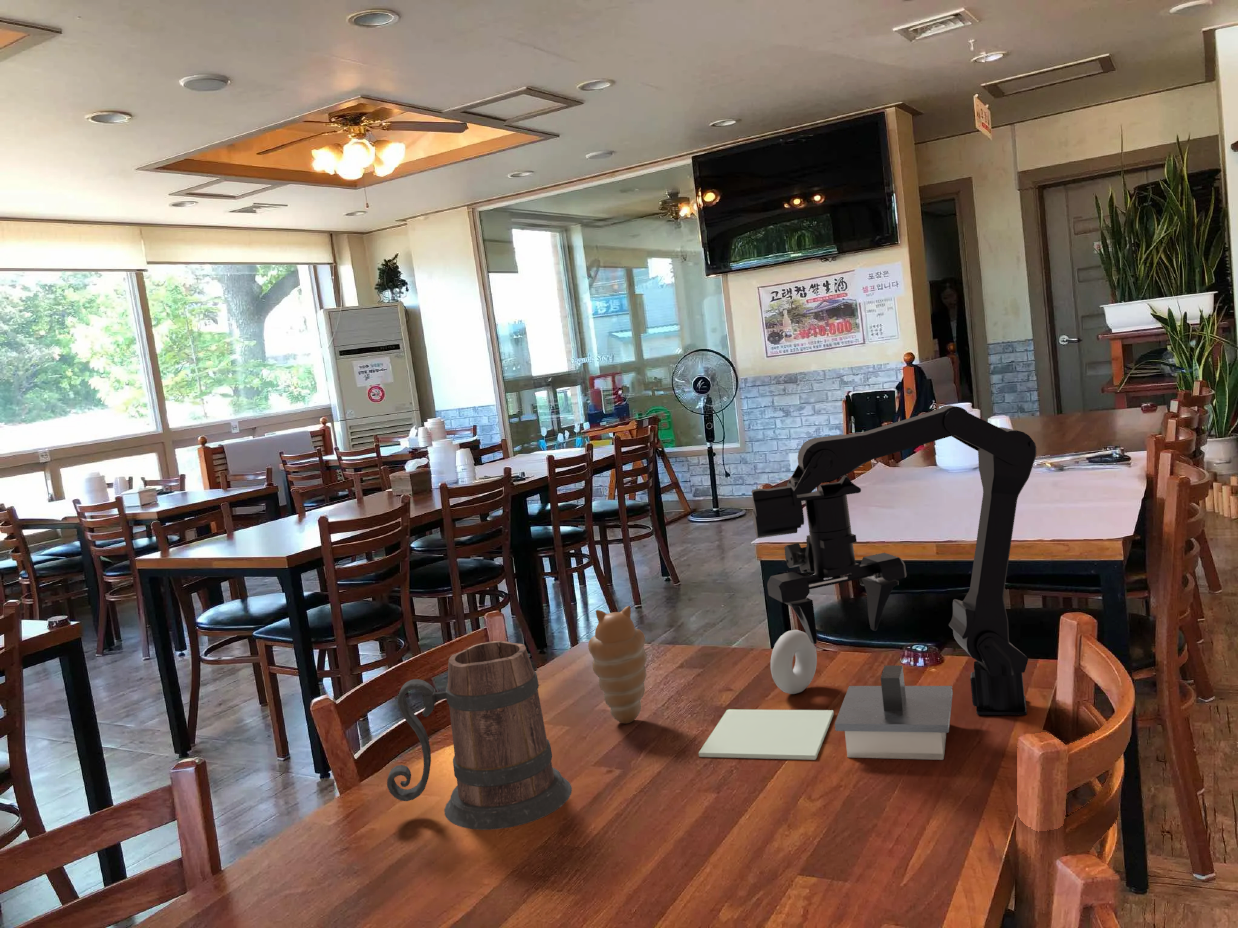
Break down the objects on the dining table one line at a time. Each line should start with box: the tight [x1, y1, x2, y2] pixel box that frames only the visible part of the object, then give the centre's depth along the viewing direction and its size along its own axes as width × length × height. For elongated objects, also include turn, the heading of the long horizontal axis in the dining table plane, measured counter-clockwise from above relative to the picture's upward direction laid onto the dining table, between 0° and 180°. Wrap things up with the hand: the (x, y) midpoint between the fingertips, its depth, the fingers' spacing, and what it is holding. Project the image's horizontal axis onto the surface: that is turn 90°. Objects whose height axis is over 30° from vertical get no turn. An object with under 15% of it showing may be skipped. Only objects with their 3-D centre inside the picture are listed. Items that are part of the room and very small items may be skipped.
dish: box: [844, 731, 947, 761], centre depth 133 cm, size 12×12×4 cm
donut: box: [770, 629, 818, 695], centre depth 155 cm, size 10×4×10 cm, turn 135°
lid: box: [834, 664, 954, 734], centre depth 132 cm, size 14×14×6 cm
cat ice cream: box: [587, 605, 648, 724], centre depth 151 cm, size 9×8×18 cm
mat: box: [698, 708, 835, 761], centre depth 140 cm, size 16×16×1 cm
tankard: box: [386, 640, 573, 831], centre depth 129 cm, size 24×17×20 cm
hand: (844, 636), depth 139 cm, fingers open, 9 cm apart
